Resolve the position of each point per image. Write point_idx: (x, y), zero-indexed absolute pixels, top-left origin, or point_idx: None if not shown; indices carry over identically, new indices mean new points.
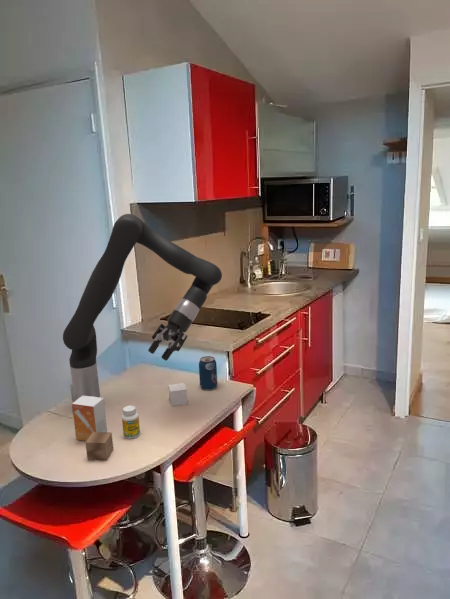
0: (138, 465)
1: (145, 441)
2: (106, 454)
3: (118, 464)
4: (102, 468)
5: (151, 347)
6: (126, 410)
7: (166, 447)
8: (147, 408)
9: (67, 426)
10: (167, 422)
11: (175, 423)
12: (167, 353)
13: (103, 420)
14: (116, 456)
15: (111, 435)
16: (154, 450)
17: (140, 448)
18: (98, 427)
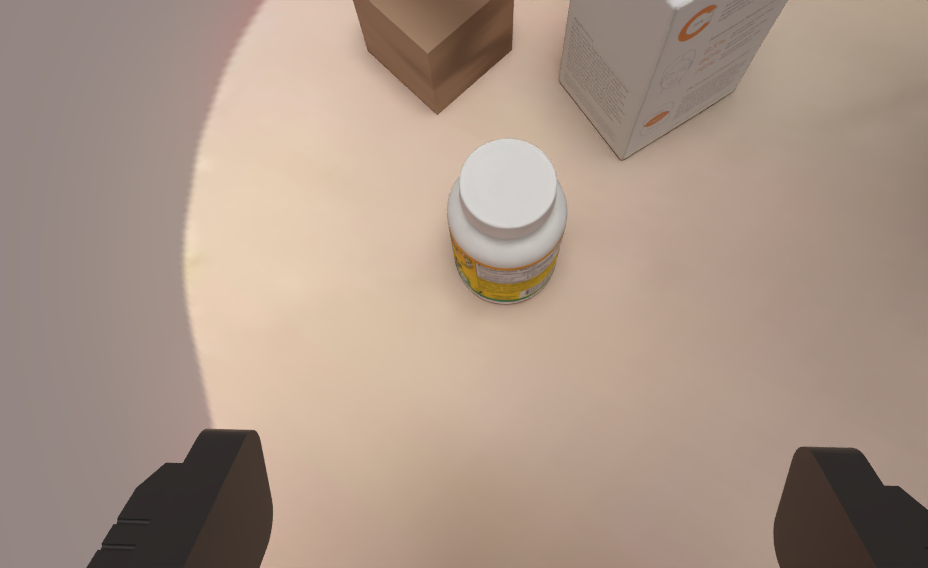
0: (212, 141)
1: (381, 279)
2: (364, 32)
3: (295, 76)
4: (323, 11)
5: (846, 522)
6: (490, 151)
7: (236, 335)
8: (772, 523)
9: (856, 31)
10: (482, 513)
11: (431, 548)
12: (105, 550)
13: (618, 84)
14: (365, 98)
15: (423, 58)
16: (263, 268)
17: (338, 222)
18: (580, 48)
